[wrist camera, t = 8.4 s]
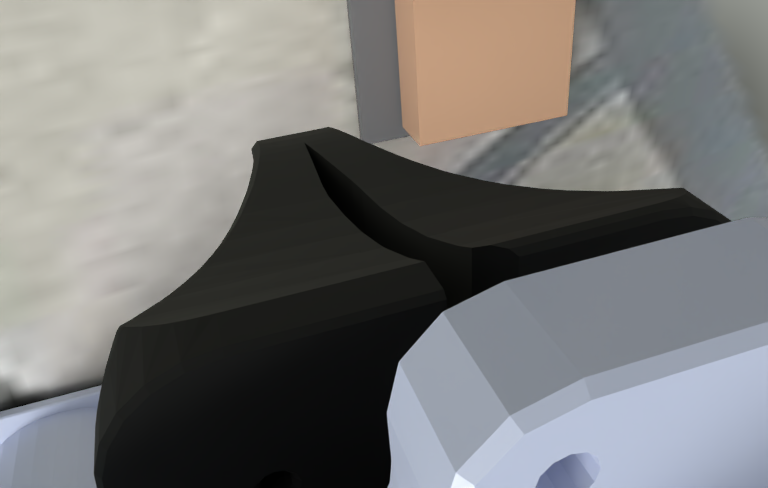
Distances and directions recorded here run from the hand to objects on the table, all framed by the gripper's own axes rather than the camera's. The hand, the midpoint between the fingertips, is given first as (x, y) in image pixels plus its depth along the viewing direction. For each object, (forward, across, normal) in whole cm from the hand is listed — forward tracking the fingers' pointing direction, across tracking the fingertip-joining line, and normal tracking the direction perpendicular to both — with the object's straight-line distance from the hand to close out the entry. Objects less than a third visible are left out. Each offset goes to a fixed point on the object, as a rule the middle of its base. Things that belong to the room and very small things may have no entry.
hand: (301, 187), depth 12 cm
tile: (+8, -5, +1) cm, 10 cm away
